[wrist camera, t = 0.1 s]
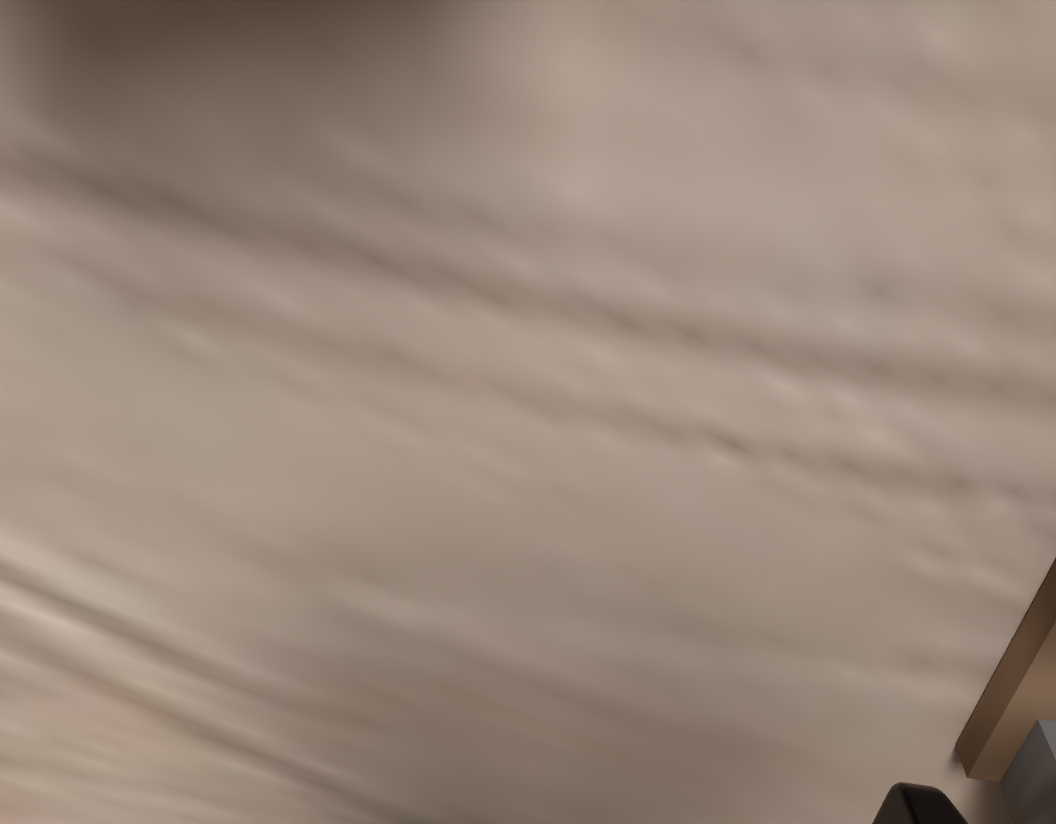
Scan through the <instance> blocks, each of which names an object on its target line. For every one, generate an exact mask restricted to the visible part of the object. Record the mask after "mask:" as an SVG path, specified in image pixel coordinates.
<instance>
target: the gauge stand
mask: <svg viewBox="0 0 1056 824" xmlns="http://www.w3.org/2000/svg"><path fill="white" fill-rule="evenodd" d="M956 747H957V750H958V752H959V755H960V758H961V761H962V764H963V767H964V770H965V773H966V776H967V778H973V779H981V780H988V781H996V782H1000V784H1001V787H1002V790H1003V792H1004V795H1005V798H1006V801H1007V803H1008V806H1009V809H1010V811H1011V814H1012V817H1013V819H1014V822H1015V824H1056V560H1055V562H1054V564H1053V566H1052V568H1051V569H1050V571H1049V573H1048V575H1047V577H1046V579H1045V581H1044V582H1043V584H1042V586H1041V588H1040V590H1039V592H1038V594H1037V595H1036V597H1035V599H1034V601H1033V603H1032V605H1031V607H1030V608H1029V610H1028V612H1027V614H1026V616H1025V618H1024V620H1023V621H1022V623H1021V625H1020V627H1019V629H1018V631H1017V632H1016V634H1015V636H1014V638H1013V640H1012V642H1011V644H1010V645H1009V647H1008V649H1007V651H1006V653H1005V655H1004V657H1003V658H1002V660H1001V662H1000V664H999V666H998V668H997V670H996V671H995V673H994V675H993V677H992V679H991V681H990V683H989V684H988V686H987V688H986V690H985V692H984V694H983V696H982V697H981V699H980V701H979V703H978V705H977V707H976V708H975V710H974V712H973V714H972V716H971V718H970V720H969V721H968V723H967V725H966V727H965V729H964V731H963V733H962V734H961V736H960V738H959V740H958V742H957V744H956Z"/></svg>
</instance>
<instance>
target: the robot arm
mask: <svg viewBox="0 0 1056 824" xmlns="http://www.w3.org/2000/svg"><path fill="white" fill-rule="evenodd" d="M872 824H968V823H967V822H966V820H965V819H964V818H963V816H962V815H961V814H960V813H959V811H958V810H957V809H956V807H955V806H954V805H953V804H952V802H951V801H950V800H949V798H948V797H947V796H946V795H945V794H944V793H943V792H941V791H940V790H939V789H937V788H934V787H931V786H925V785H918V784H911V783H904V782H899V783H897V784H895V785H893V786H892V787H891V789H890V790H889V792H888V794H887V796H886V798H885V800H884V802H883V804H882V806H881V808H880V809H879V811H878V813H877V815H876V817H875V819H874V821H873V823H872Z"/></svg>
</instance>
